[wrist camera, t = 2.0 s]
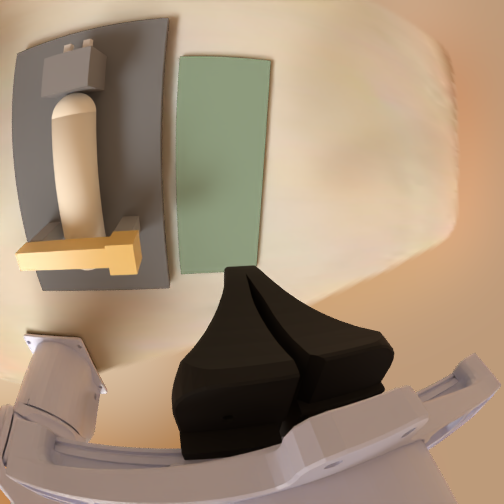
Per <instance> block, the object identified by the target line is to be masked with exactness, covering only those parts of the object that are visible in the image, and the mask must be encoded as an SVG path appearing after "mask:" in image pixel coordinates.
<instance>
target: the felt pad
mask: <svg viewBox="0 0 504 504" xmlns="http://www.w3.org/2000/svg"><path fill="white" fill-rule="evenodd" d="M270 63H271V61H268V60H259V59H249V58H236V57H214V56H185V57H180V61H179V75H178V92H177V116H176V196H177V222H178V240H179V255H180V268H181V274H194V273H213V272H224V269H225V268H226V267H232V266H251V265H255V266H256V265H257V252H258V238H259V224H260V211H261V197H262V182H263V168H264V154H265V139H266V124H267V109H268V94H269V79H270Z"/></svg>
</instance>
